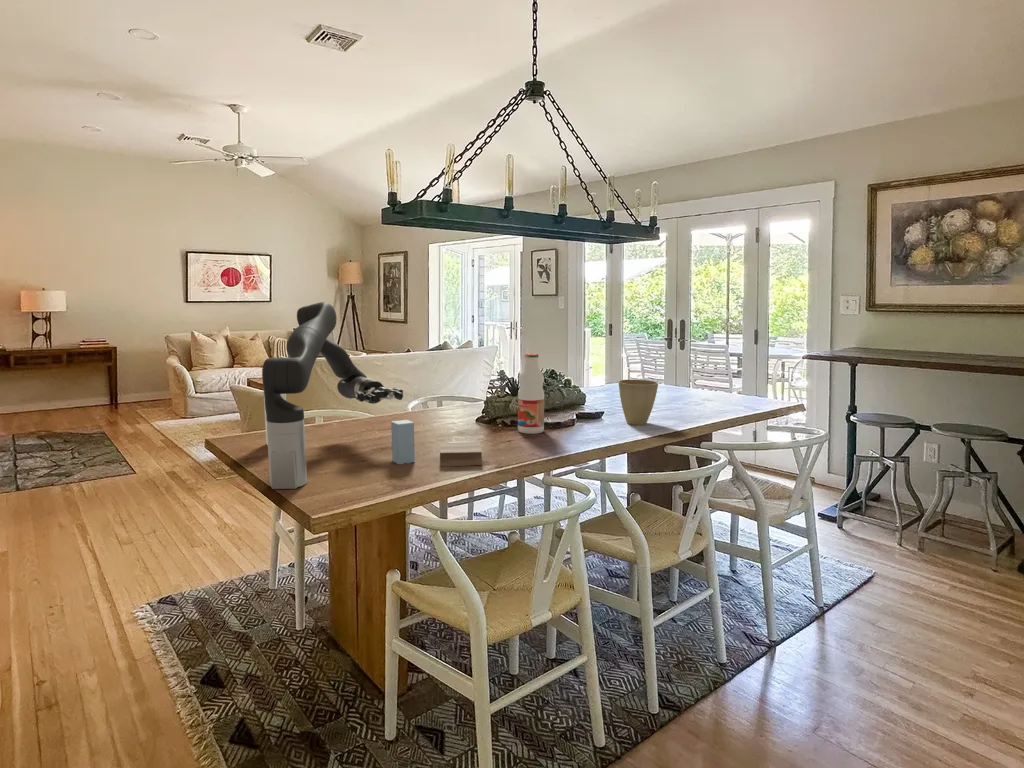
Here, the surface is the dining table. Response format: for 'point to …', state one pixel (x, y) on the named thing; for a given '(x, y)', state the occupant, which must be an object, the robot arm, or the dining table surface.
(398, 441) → the blue block
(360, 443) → the dining table surface
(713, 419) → the dining table surface
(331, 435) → the dining table surface
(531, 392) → the fruit juice
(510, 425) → the dining table surface
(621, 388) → the plant pot
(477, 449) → the walnut plinth
